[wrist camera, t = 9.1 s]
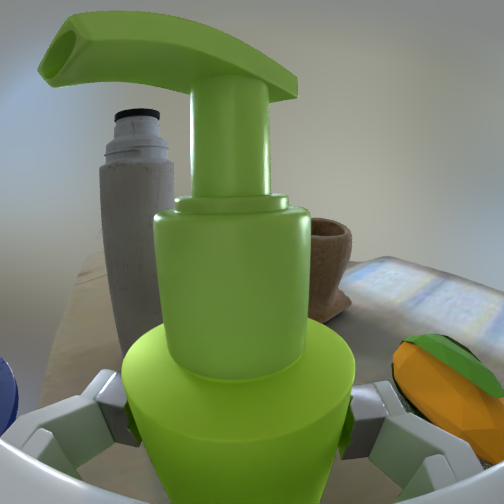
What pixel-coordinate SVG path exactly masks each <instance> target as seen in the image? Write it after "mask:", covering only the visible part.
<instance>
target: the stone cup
mask: <svg viewBox="0 0 504 504" xmlns="http://www.w3.org/2000/svg"><path fill="white" fill-rule="evenodd" d="M351 248H352V234H351V231H350V230H349V229H348V228H347V227H346V226H345V225H343V224H341V223H339V222H336V221H333V220H329V219H323V218H311V252H310V281H309V303H308V318H310V319H312V320H315V321H317V322H319V323H321V324H323V323H325V322H327V321H328V320H330V319H331V318H333V317H334V316H336V315H338V314H339V313H340V312H342V311H343V310H345V309H346V308H348V307H349V306H350V305H351V304H352V302H351V300H350V299H349V297H348V296H346V295H345V294H344V293H343V291H341V290H339V289H338V285H339V283H340V280H341V278H342V276H343V274H344V271H345V269H346V267H347V265H348V263H349V259H350V255H351Z"/></svg>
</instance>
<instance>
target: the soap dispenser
mask: <svg viewBox="0 0 504 504" xmlns="http://www.w3.org/2000/svg"><path fill="white" fill-rule="evenodd" d="M38 72H39V74H40V75H41V76H42V78H43V79H44V80H45V81H46V82H47V83H48V84H49V85H50V86H51V87H53V88H60V87H66V86H72V85H78V84H85V83H94V82H131V83H139V84H146V85H152V86H156V87H161V88H165V89H169V90H173V91H177V92H182V93H185V94H189V95H191V108H190V112H191V113H190V114H191V115H190V141H191V142H190V145H191V147H190V149H191V151H190V152H191V193H192V194H191V195H192V196H183V197H177V198H176V199H175V200H174V206H175V208H174V209H169V210H165V211H161V212H159V213H157V214H156V215H155V216H154V220H153V232H154V245H155V256H156V266H157V276H158V285H159V293H160V301H161V308H162V316H163V324H161V325H159V326H157V327H155V328H153V329H151V330H150V331H148V332H147V333H145V334H144V335H143V336H141V337H140V338H139V339H138V340H137V341H136V342H135V343H134V344H133V345H132V346H131V347H130V349H129V350H128V352H127V354H126V356H125V358H124V360H123V364H122V370H121V377H122V383H123V387H124V390H125V393H126V396H127V400H128V403H129V405H130V408H131V411H132V414H133V417H134V420H135V422H136V425H137V428H138V430H139V433H140V435H141V438H142V440H143V443H144V445H145V448H146V450H147V453H148V455H149V457H150V460H151V462H152V464H153V466H154V468H155V471H156V473H157V475H158V477H159V479H160V481H161V483H162V485H163V487H164V489H165V491H166V493H167V495H168V497H169V499H170V501H171V503H172V504H319V502H320V499H321V496H322V494H323V491H324V488H325V485H326V482H327V479H328V476H329V473H330V470H331V467H332V464H333V461H334V457H335V454H336V451H337V447H338V444H339V440H340V436H341V433H342V429H343V425H344V421H345V417H346V413H347V409H348V405H349V401H350V396H351V392H352V387H353V382H354V377H355V360H354V356H353V354H352V351H351V349H350V348H349V346H348V344H347V343H346V342H345V341H344V340H343V339H342V337H340V336H339V335H338V334H337V333H336V332H334V331H333V330H332V329H330V328H328V327H327V326H325V325H323V324H321V323H319V322H317V321H315V320H312V319H310V318H308V303H309V281H310V252H311V216H310V212H309V211H308V210H307V209H305V208H303V207H298V206H292V205H289V203H288V202H289V200H288V195H286V194H279V193H271V168H270V167H271V166H270V122H269V103H272V102H278V101H283V100H289V99H294V98H298V83H297V77H296V76H295V75H293V74H292V73H291V72H289V71H288V70H286V69H285V68H283V67H282V66H281V65H280V64H278V63H277V62H275V61H274V60H272V59H271V58H269V57H268V56H266V55H265V54H263V53H261V52H260V51H258V50H257V49H255V48H253V47H251V46H250V45H248V44H246V43H244V42H243V41H241V40H239V39H237V38H235V37H233V36H231V35H229V34H227V33H224V32H222V31H220V30H217V29H215V28H212V27H210V26H207V25H204V24H201V23H198V22H195V21H192V20H188V19H184V18H180V17H176V16H171V15H165V14H158V13H151V12H140V11H97V12H86V13H79V14H74V15H72V16H70V17H69V18H68V19H67V20H66V21H65V22H64V24H63V25H62V27H61V28H60V30H59V31H58V33H57V34H56V36H55V38H54V39H53V41H52V43H51V44H50V46H49V48H48V50H47V52H46V54H45V55H44V57H43V59H42V61H41V63H40V65H39V67H38Z"/></svg>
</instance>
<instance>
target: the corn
mask: <svg viewBox="0 0 504 504" xmlns="http://www.w3.org/2000/svg"><path fill="white" fill-rule="evenodd" d="M392 376H393V380H394V382H395V384H396V387H397V389H398V391H399V392H400V394H401V395H402V396H403V398H404V399H405V401H406V402H407V403H408V405H409V406H410V407H411V409H412V410H413V411H414V412H415V414H416V415H417V416H418V417H420V418H422V419H423V420H425V421H427V422H429V423H431V424H433V425H435V426H437V427H438V428H440V429H442V430H444V431H446V432H448V433H450V434H452V435H454V436H456V437H458V438H460V439H462V440H464V441H466V442H468V443H469V445H470V446H471V448H472V450H473V451H474V453H475V455H476V456H477V458H479V459H481V460H483V461H485V462H488V463H490V464H493V465H496V464H498V463H500V462H502V461H504V399H503V397H504V390H503V388H502V386H501V384H500V383H499V382H498V380H497V379H496V378H495V376H494V375H493V373H492V372H491V371H490V370H489V369H488V368H487V367H485V366H484V365H483V364H482V363H481V362H480V361H479V360H478V358H477V357H476V356H475V355H474V354H473V353H472V352H471V351H470V350H469V349H468V348H467V347H465V346H463V345H462V344H460V343H458V342H457V341H455V340H453V339H452V338H450V337H448V336H444V335H439V334H424V335H419V336H410V337H408V338H406V339H405V340H403V341H402V342H401V344H400V347H399V348H398V349H397V351H396V352H395V353H394V354H393V363H392Z"/></svg>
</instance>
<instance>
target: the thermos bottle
mask: <svg viewBox="0 0 504 504" xmlns="http://www.w3.org/2000/svg"><path fill="white" fill-rule="evenodd" d="M159 119H160V113H159V112H158V111H156V110H153V109H144V108H143V109H142V108H139V109H129V110H124V111H120V112H118V113H116V115H115V120H114V121H115V122H116V126H115V128H114V139H113V140H112V141H111V142H110V143H108V144H107V145H106V154H105V155H104V156H105V157H106V163H105V164H104V165H103V166H101V167H100V169H99V177H100V201H101V219H102V233H103V243H104V253H105V261H106V269H107V276H108V283H109V290H110V296H111V302H112V307H113V313H114V318H115V323H116V328H117V333H118V337H119V342H120V346H121V351H122V355H123V359H124V358H125V356H126V354H127V352H128V350H129V349H130V347H131V346H132V345H133V344H134V343H135V342H136V341H137V340H138V339H139V338H140V337H141V336H143V335H144V334H145V333H147V332H148V331H150V330H151V329H153V328H155V327H157V326H159V325H161V324H163V316H162V308H161V301H160V293H159V285H158V276H157V266H156V256H155V245H154V232H153V220H154V216H155V215H156V214H157V213H159V212H161V211H165V210H169V209H174V208H175V206H174V164H173V162H171V161H169V160H167V150H168V147H167V142H166V141H165V140H164V139H162V138H161V137H159V125H158V120H159Z"/></svg>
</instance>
